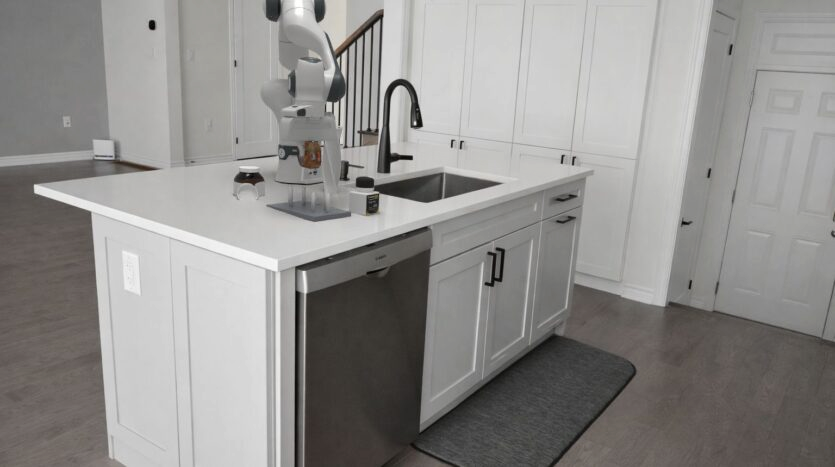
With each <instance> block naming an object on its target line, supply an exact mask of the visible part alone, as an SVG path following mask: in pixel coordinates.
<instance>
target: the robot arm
mask: <svg viewBox="0 0 835 467" xmlns="http://www.w3.org/2000/svg"><path fill="white" fill-rule="evenodd" d="M262 11H263V13H264V15H265V18H267V20H268V21H271V22H273V23H278V22H279V24H278V33H277V34H278V38H277V39H278V42H277V46H278V61H279V63H280V65H281V66H282V67H283V68H285V69H286V70H288V71H290V73H289V74H288V75H287V78H271V79H267V80H265V81H263V83H262V85H261V87H260V98H261V101H263V104H264V105H266V106H267V107H268V108H269V109H270V110H271V111H272V113H273V114H274V116H275V118H276V120H277V124H278V131H279V132H278V136H279V143H278V148H277V154H278V163H277V164H278V165H277V171H276V174H275V175H276V176H275V179H274V181H276V182H280V183H286V184H287V183H289V184H306V185H309V184H316V183H323V174H322V163H321V166H320V167H319V168H317V169H308V168H305V167H301V166H300V164H299V162H298V158H297V146H298V148H299V150H300V156H307V150H305V149H304V146H303V145H305V141H311V142H317V143H318V144H319V145H320V147H321V146H322V142H325V141H335V140H336V138H337V131H336V127H337V124H336V123H337V122H336V115H335V114H334V113H333V112H332V111H325V106H326V104H327V103H334V104H336V103H338V102H340V100H342V99H343V98H344V97H345V96H346V91H347V84H346V79H345V76H344V74H343V72H342V71H341V68H340V65H339V62H338V58H337V57H336V56H337V55H336V53H335V49H334V47H333V44H332V41H331V39H330V36H329V35H328V33H327V32H326V31H325V30H323V29H322V28H321V27H320V25H319V23H321V22H322V21H323V20H324V19H325V16H326V15H327V14H326V12H327V2H326V1H325V0H262ZM310 51H311V52H314V53H315V54H316V55H318V56H319V57H320V58H321V59H320V58H317V57H314V56H310V53H309V52H310Z"/></svg>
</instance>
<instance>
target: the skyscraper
mask: <svg viewBox="0 0 835 467" xmlns="http://www.w3.org/2000/svg"><path fill="white" fill-rule="evenodd" d="M336 131H337V138H336V140H335V141H324V144H323V149H322V163H321V164H322V174H323V182H322V184H323V192H324V191H328V193H329V194H335V195H336V194H339V191H338V190H339V189H338V188H339V184H340V178H341V172H342V171H341V170H342V151H341V150H342V149H341V144H340V140H341V138H342V133H343V126H342V125H338V126H337V125H336Z"/></svg>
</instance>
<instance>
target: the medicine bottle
mask: <svg viewBox="0 0 835 467" xmlns="http://www.w3.org/2000/svg"><path fill="white" fill-rule="evenodd" d="M348 197H349V199H348V200H349V202H348V204H349V205H348V211H350V212H351V214H356V215H358V216H359V215H360V216H364V217H367V216H368V217H369V216H371V215H376V214H379V213H380V212H379V211H380V191H375V178H373V176H366V175H365V176H363V175H362V176H357V177H356V178H355V190H353V191H349V196H348Z"/></svg>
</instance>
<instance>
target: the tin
mask: <svg viewBox="0 0 835 467" xmlns="http://www.w3.org/2000/svg"><path fill="white" fill-rule="evenodd" d="M303 146H304V149H305V150H307V156H300V150H299V148H298V146H297V158H298V162H299V164H300V166H301V167H305V168H308V169H317V168H319V167H320V166H321V164H322V155H323V150H322V147H321V146H320V145H319V144H318V143H317V142H314V141H305V145H303Z"/></svg>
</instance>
